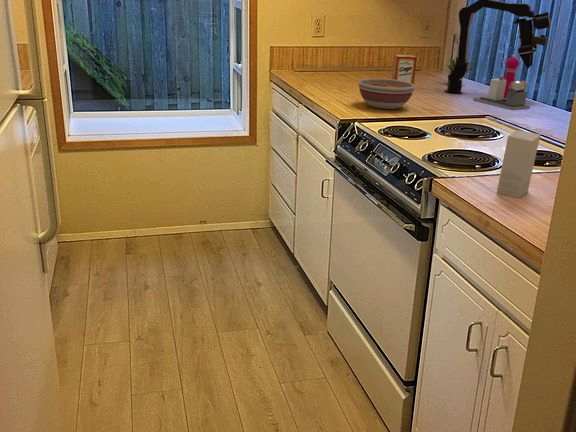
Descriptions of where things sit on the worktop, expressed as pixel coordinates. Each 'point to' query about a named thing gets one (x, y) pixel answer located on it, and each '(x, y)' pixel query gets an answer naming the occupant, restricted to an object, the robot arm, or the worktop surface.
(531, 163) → the skincare box
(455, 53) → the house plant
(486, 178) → the worktop surface
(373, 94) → the bowl
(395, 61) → the orange white cardboard box
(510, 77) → the pepper mill
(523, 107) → the base
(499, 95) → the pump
